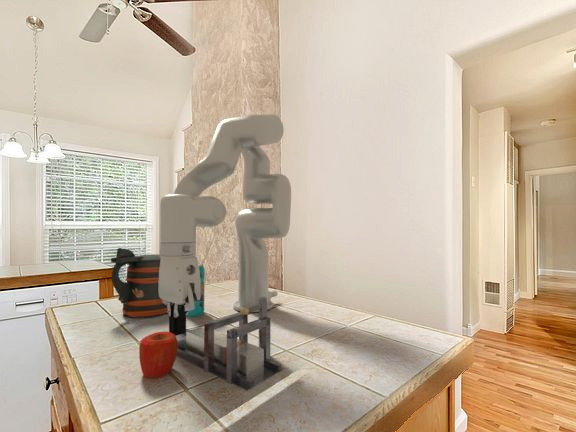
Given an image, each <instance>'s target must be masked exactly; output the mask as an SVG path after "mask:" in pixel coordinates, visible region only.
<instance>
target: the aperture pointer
mask: <svg viewBox="0 0 576 432" xmlns="http://www.w3.org/2000/svg"><path fill="white" fill-rule="evenodd" d="M255 310H259V312H258V319H261V318H264V317H268V310H267V297H260V298H259V304H258V305H255V306H252V307H248V308H241V311H240V312H241V314H243V315H246V314H248V315H249V313H253V312H252V311H255ZM258 347H260V348H261V328H260V329H258Z"/></svg>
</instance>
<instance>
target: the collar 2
mask: <svg viewBox="0 0 576 432" xmlns="http://www.w3.org/2000/svg"><path fill="white" fill-rule="evenodd" d="M260 328H261V348H263V349H264V359H269V360H271V317H269V316H267V317H264V318H261V319H259V318H258V319H255V320H252V321H250V322H249V321H248V323H246V324H244V325H241V326H239V325H238V326H236V327H233V328H229V329H227V330H226V335H227V378H226V380H225V381H226V382H227V383H229V384H231V385H232V384H233V382H235V381H236V375H237V339H238V338H239V337H240V336H242V335H245V334H247V333H248V334H249V333H252V332H254V331H259V329H260Z"/></svg>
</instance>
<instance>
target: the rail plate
mask: <svg viewBox="0 0 576 432" xmlns="http://www.w3.org/2000/svg"><path fill="white" fill-rule="evenodd" d="M189 330H190V329H187V328H186V331H189ZM176 338H177V355H176V358H177V357H178V358H180V359H182V360H184V361H185V362H187V363H190V364H192V365H194V366H196V367H198V368H200V369H202V370H204V357H202V356H200V355H197V354H195V353H193V352H191V351H188V350H186V332H185V333H183V334H180V335H176ZM284 369H285V368H284V367H282V364H281V363H279V362H276V361H274V360H271V359H270V360H269V359H264V372H263V373H262V374H260V375H258V376H256V377H254V378H252V379H251V378H249V377H247V376H244V375H242V374H240V373H238V372H237V375H236V381H235V382H233V383H232V384H233V385H235V386H237V387H239V388H241V389H243V390H244V391H245V390H246V391H249V390H251V389H252V388H254V387H255V386H257V385H260V384H261V383H263V382H264V381H266V380H268V379H269V378H271V377H272V376H275V375H276V374H278V373H279V372H281V371H283V370H284ZM209 373H210V374H211V375H215V376H217V377H219V378H220V379H223V380H224V381H226V378H227V367H224V366H222V365H220V364H218V363H215V362H214V364H213V366H212V371H210V372H209Z"/></svg>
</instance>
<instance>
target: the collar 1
mask: <svg viewBox="0 0 576 432" xmlns="http://www.w3.org/2000/svg"><path fill="white" fill-rule="evenodd" d="M237 322H238V326H241V325H244V324H246V323H249V314H246V315H243V314H241V311H238V312H236V313H233V314H229V315H226V316H222V317H219V318H216V319H212V320H210V321H207V322H204V324H203V325H204V369H203V371H205V372H206V373H210V371H212V366H213V364H214V330H216V329H220V328H223V327H225V326H228V325H231V324H235V323H237ZM248 334H249V333H247V334H245V335H242V336H240V337H238V339H239V340H241V341H245V342H247V343H249V342H248V341H249V335H248Z"/></svg>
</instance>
